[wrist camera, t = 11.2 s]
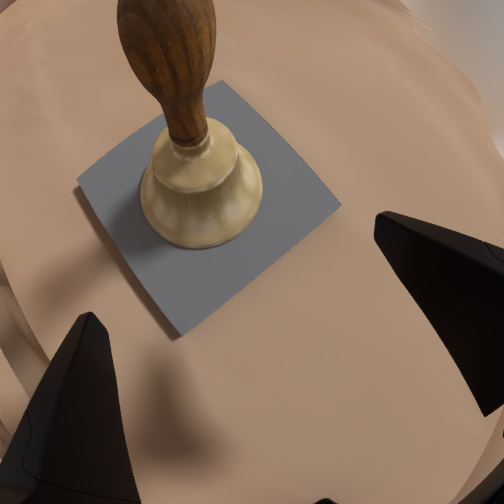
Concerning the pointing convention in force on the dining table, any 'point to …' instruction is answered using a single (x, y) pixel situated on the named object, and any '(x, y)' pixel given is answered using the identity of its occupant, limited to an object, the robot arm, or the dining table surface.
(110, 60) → the dining table surface
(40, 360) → the walnut well board
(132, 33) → the hand bell
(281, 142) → the grey rubber mat
